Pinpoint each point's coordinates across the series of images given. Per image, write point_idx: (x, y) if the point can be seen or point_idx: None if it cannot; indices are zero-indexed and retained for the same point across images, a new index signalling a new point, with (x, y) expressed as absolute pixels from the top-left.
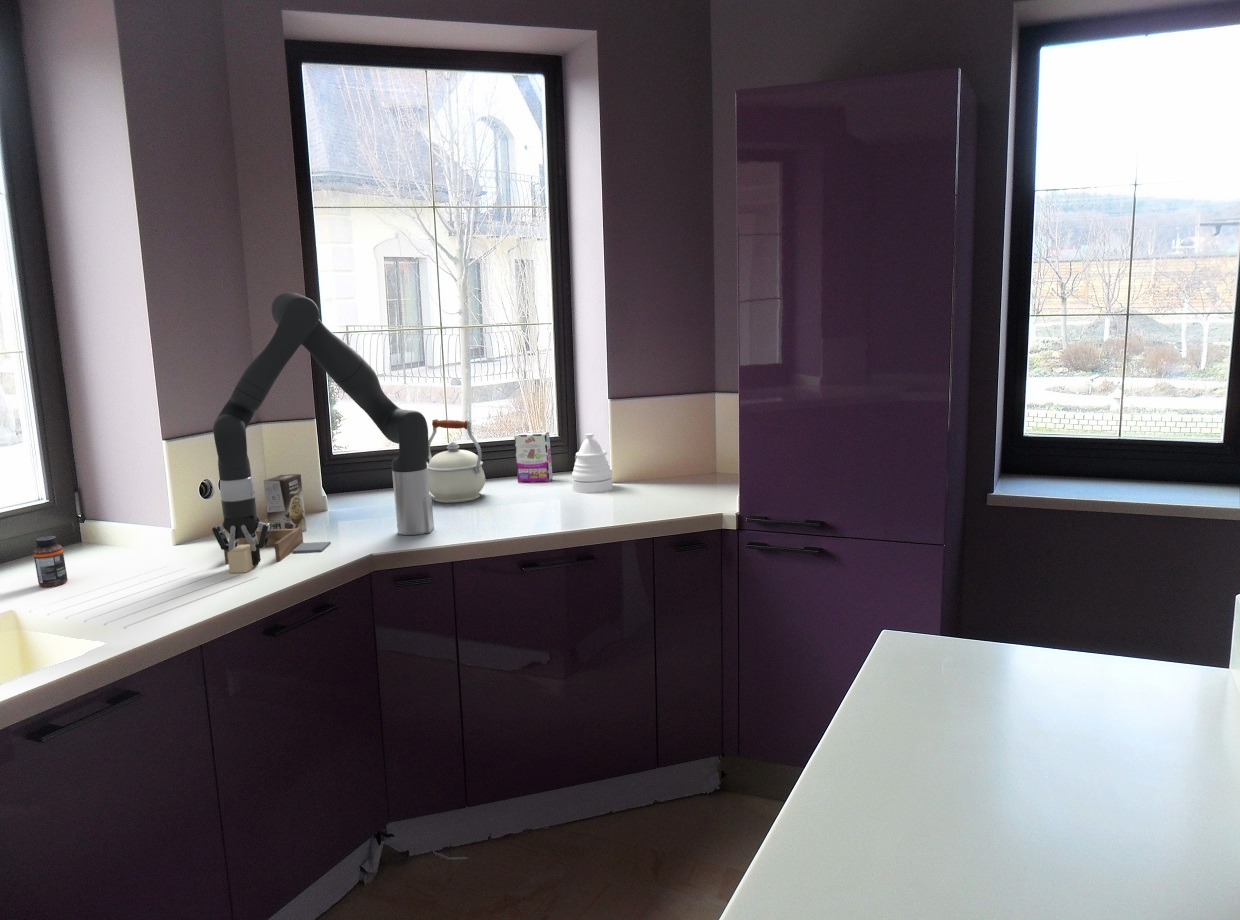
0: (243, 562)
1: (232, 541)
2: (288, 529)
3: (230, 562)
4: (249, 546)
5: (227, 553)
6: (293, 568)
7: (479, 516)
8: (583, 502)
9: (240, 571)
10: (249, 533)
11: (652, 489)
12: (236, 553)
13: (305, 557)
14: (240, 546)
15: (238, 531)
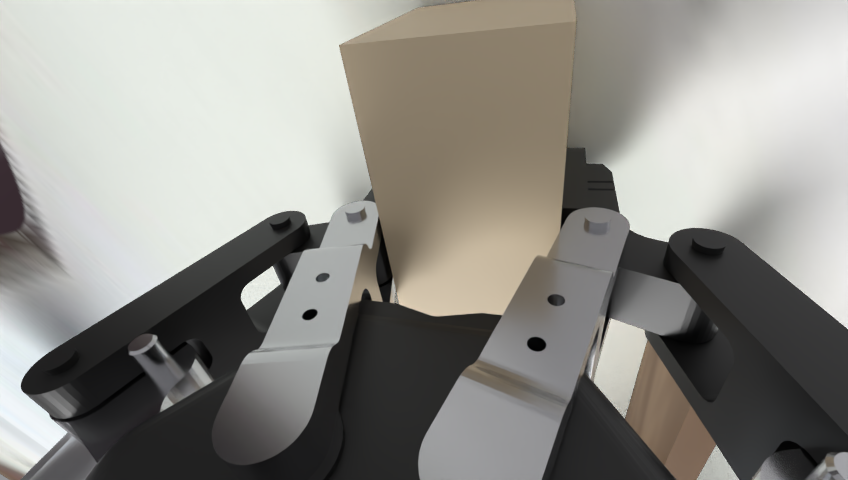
0: (407, 21)
1: (554, 270)
2: None
3: (549, 5)
4: (414, 262)
5: (575, 20)
6: (167, 94)
7: None
8: (40, 454)
9: (468, 3)
10: (278, 325)
11: (19, 466)
12: (442, 33)
13: (263, 280)
14: (511, 282)
15: (433, 396)
